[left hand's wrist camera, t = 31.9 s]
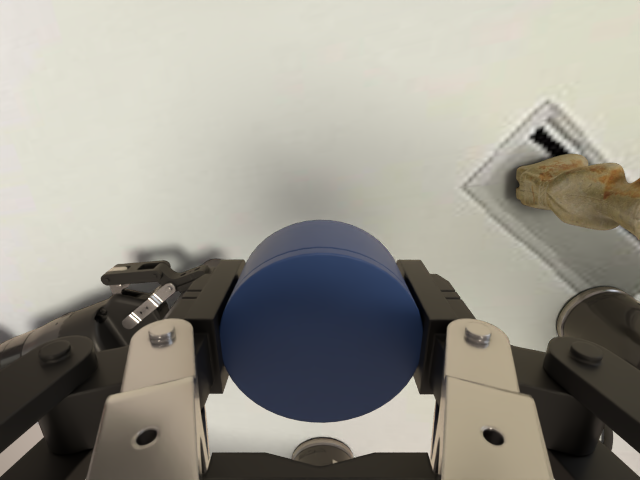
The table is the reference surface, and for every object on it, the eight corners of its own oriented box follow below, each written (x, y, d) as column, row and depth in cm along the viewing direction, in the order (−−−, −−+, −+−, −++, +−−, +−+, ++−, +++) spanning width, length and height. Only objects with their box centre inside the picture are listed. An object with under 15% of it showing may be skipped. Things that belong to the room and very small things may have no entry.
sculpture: (571, 198, 39) (713, 251, 25) (505, 207, 39) (608, 264, 25) (577, 145, 37) (736, 169, 23) (507, 155, 37) (622, 185, 23)
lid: (435, 266, 11) (466, 311, 8) (350, 382, 12) (358, 446, 10) (283, 188, 10) (271, 214, 7) (214, 325, 11) (188, 380, 9)
